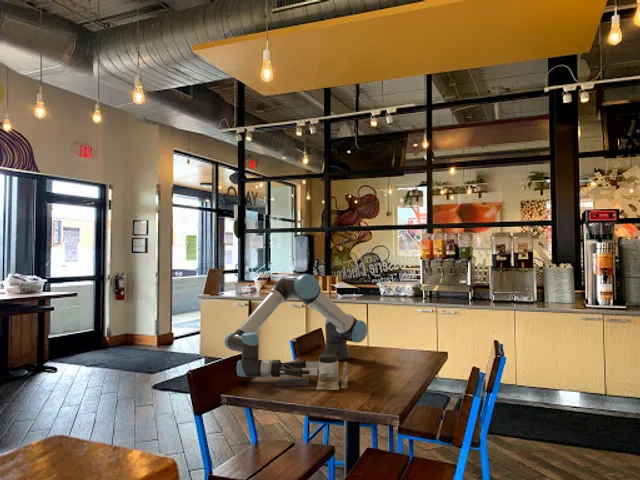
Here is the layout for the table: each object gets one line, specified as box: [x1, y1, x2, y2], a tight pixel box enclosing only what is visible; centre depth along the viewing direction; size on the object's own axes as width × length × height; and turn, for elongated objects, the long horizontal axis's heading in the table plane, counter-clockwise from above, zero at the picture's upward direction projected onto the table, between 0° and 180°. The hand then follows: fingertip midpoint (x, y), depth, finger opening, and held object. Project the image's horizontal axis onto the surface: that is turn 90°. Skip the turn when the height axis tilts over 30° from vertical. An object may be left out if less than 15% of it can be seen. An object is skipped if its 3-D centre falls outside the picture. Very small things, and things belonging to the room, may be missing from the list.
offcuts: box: [317, 372, 339, 387], centre depth 201 cm, size 8×3×6 cm, turn 85°
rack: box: [315, 361, 349, 391], centre depth 208 cm, size 13×17×8 cm
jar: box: [318, 353, 340, 384], centre depth 212 cm, size 9×8×12 cm
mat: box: [275, 377, 311, 387], centre depth 213 cm, size 14×12×1 cm
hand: (318, 368), depth 212 cm, fingers open, 13 cm apart
